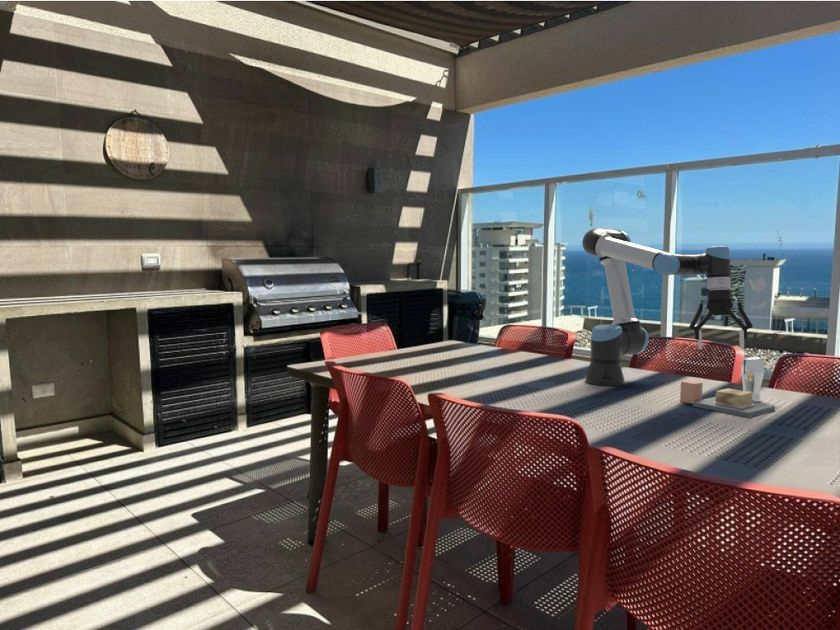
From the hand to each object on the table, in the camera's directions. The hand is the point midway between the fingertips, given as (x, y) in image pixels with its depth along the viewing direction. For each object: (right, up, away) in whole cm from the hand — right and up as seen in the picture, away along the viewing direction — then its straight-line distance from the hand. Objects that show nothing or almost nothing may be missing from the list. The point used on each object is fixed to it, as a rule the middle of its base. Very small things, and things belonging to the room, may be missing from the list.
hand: (720, 348), depth 203 cm
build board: (-3, -19, -14) cm, 24 cm away
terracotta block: (-13, -18, -5) cm, 23 cm away
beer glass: (+11, -19, 0) cm, 21 cm away
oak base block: (-3, -18, -14) cm, 22 cm away
